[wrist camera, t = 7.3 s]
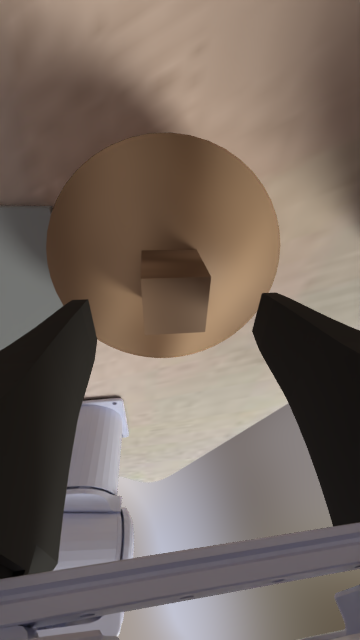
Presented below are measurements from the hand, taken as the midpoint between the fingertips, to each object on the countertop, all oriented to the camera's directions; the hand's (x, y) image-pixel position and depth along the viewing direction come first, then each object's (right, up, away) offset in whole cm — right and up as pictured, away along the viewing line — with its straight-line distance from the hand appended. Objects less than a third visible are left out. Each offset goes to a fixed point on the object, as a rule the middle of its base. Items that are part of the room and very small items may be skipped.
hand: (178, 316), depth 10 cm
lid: (-1, +3, +4) cm, 5 cm away
